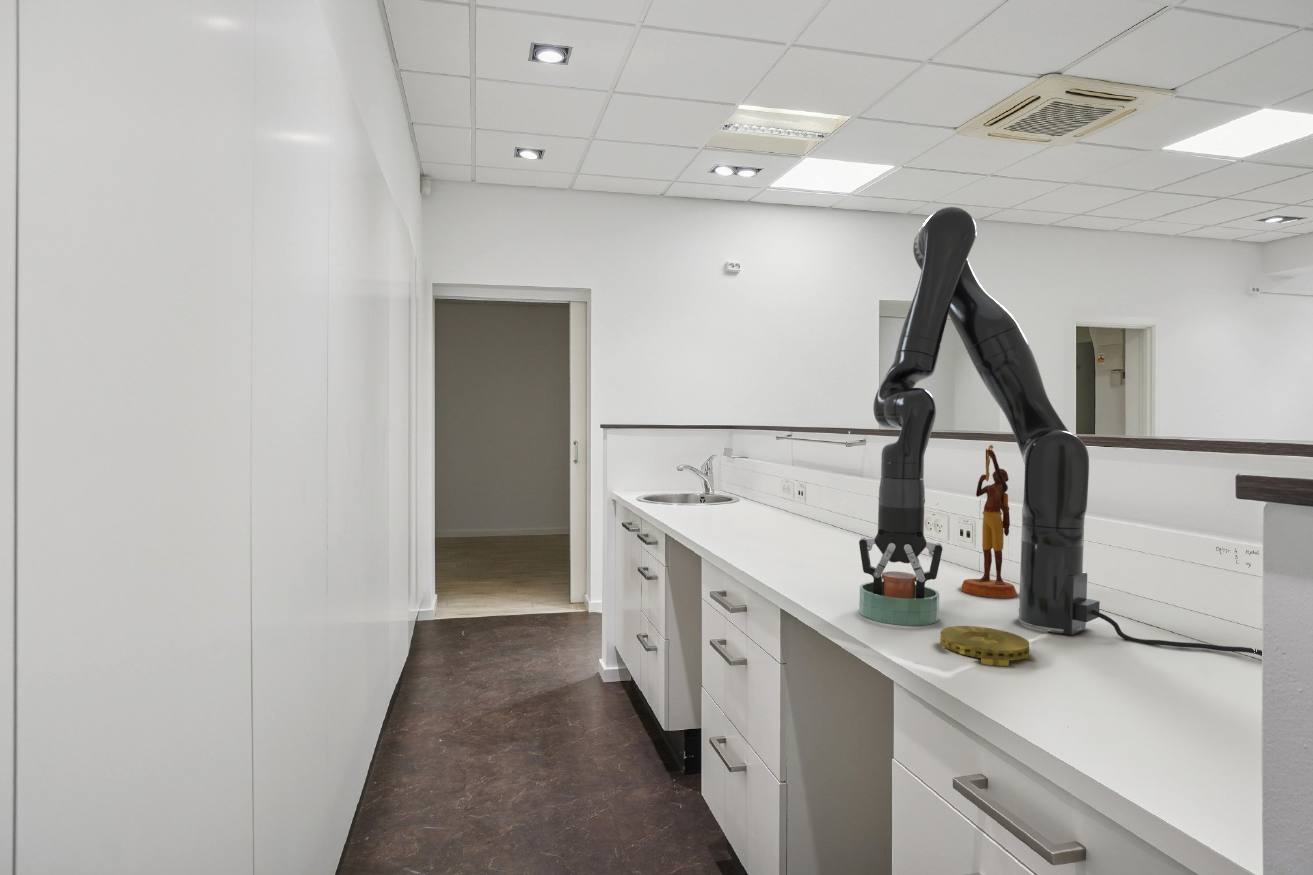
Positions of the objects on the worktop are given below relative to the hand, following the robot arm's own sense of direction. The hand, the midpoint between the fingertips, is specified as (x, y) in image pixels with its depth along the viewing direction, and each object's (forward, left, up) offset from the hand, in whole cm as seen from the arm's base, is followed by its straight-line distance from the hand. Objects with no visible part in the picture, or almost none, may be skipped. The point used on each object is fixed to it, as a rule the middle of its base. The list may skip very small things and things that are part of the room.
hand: (898, 600), depth 124 cm
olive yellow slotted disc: (-18, +6, -3) cm, 19 cm away
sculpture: (0, -33, -3) cm, 33 cm away
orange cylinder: (0, 0, -3) cm, 3 cm away
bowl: (0, 0, -3) cm, 3 cm away
